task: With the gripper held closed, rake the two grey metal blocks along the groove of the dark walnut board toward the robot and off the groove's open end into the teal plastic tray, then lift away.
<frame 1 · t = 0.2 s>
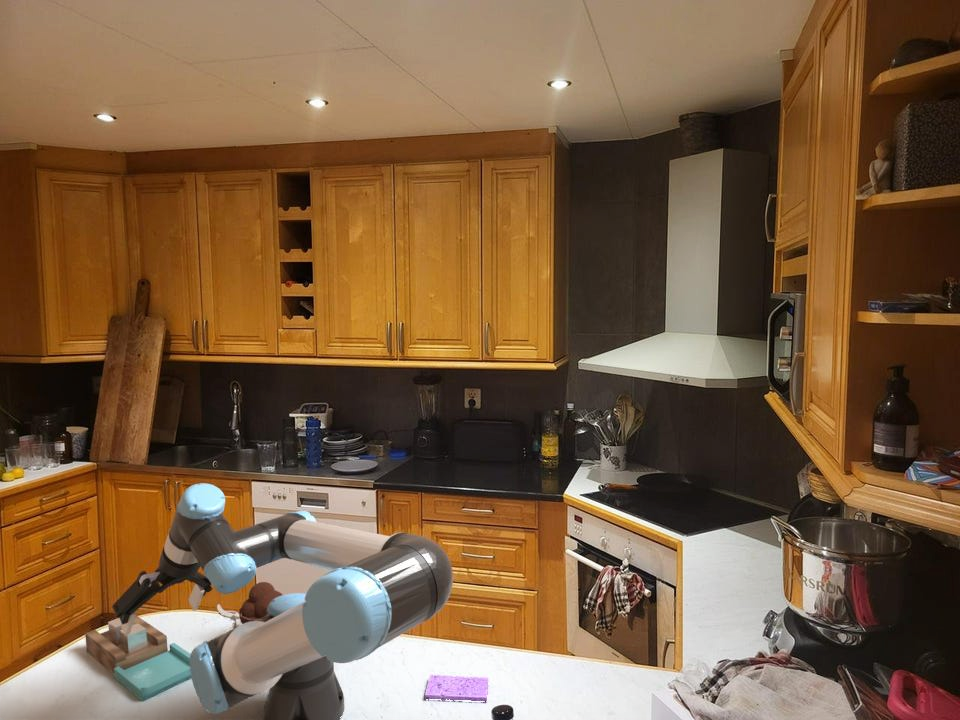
hand: (159, 616, 137), 16 cm above the countertop, tool tilted 35°, fingers open, 13 cm apart
near block: (134, 646, 150), point 3 cm above the countertop, touching groove board
pliers: (240, 616, 171), on the countertop
tray: (159, 674, 144), on the countertop
groove board: (127, 653, 153), on the countertop
sponges: (457, 694, 138), on the countertop
ice cream bowl: (265, 648, 155), on the countertop
far block: (122, 637, 154), point 3 cm above the countertop, touching groove board
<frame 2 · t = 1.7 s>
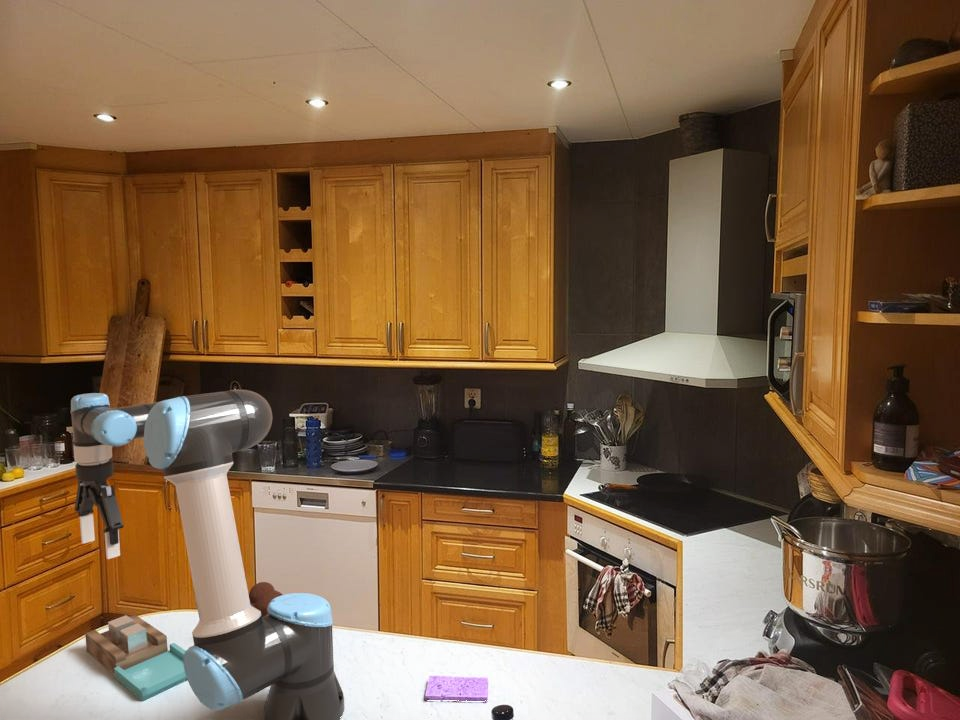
hand: (100, 549, 157), 22 cm above the countertop, tool pointing down, fingers open, 13 cm apart
nothing on the countertop moved.
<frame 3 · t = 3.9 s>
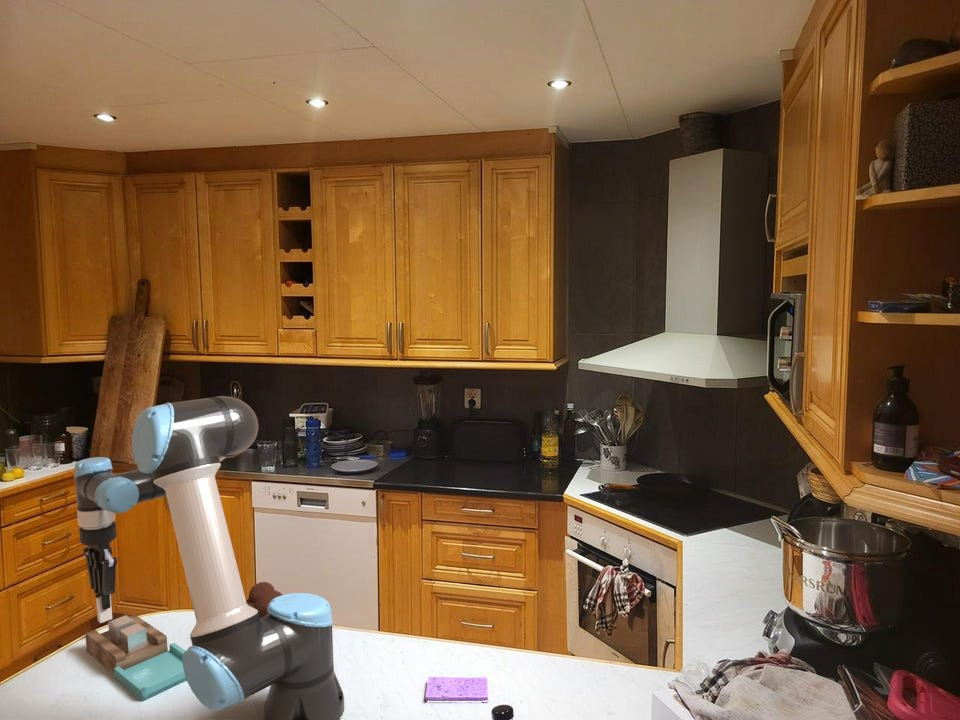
hand: (105, 619, 160), 4 cm above the countertop, tool pointing down, fingers closed
nothing on the countertop moved.
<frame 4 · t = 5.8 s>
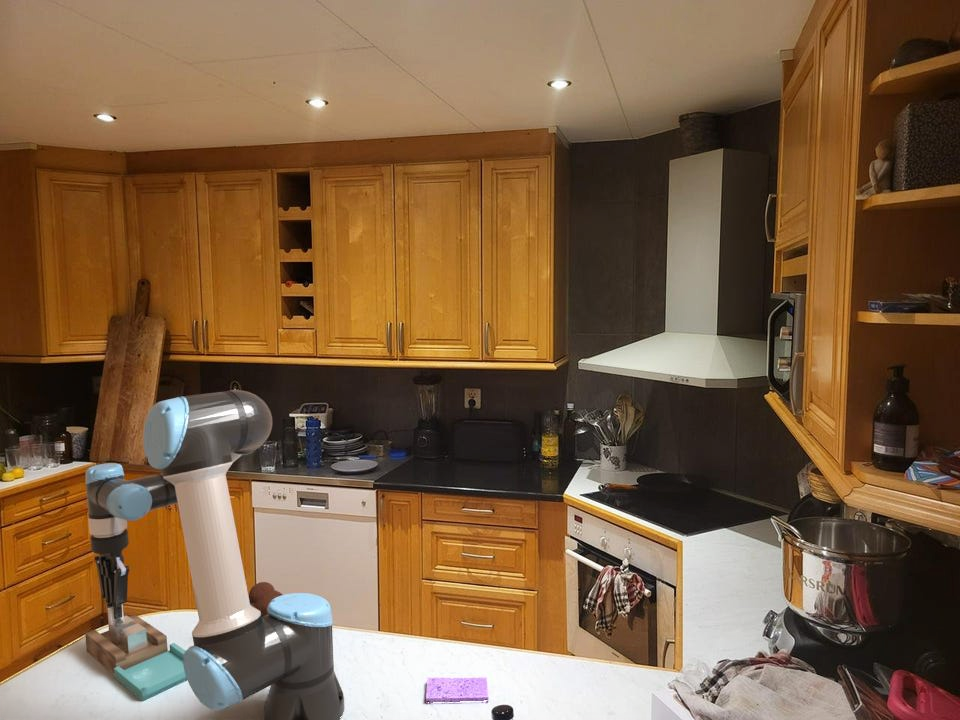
hand: (116, 630, 156), 4 cm above the countertop, tool pointing down, fingers closed
far block: (122, 637, 154), point 3 cm above the countertop, touching gripper, groove board
everything else where it was.
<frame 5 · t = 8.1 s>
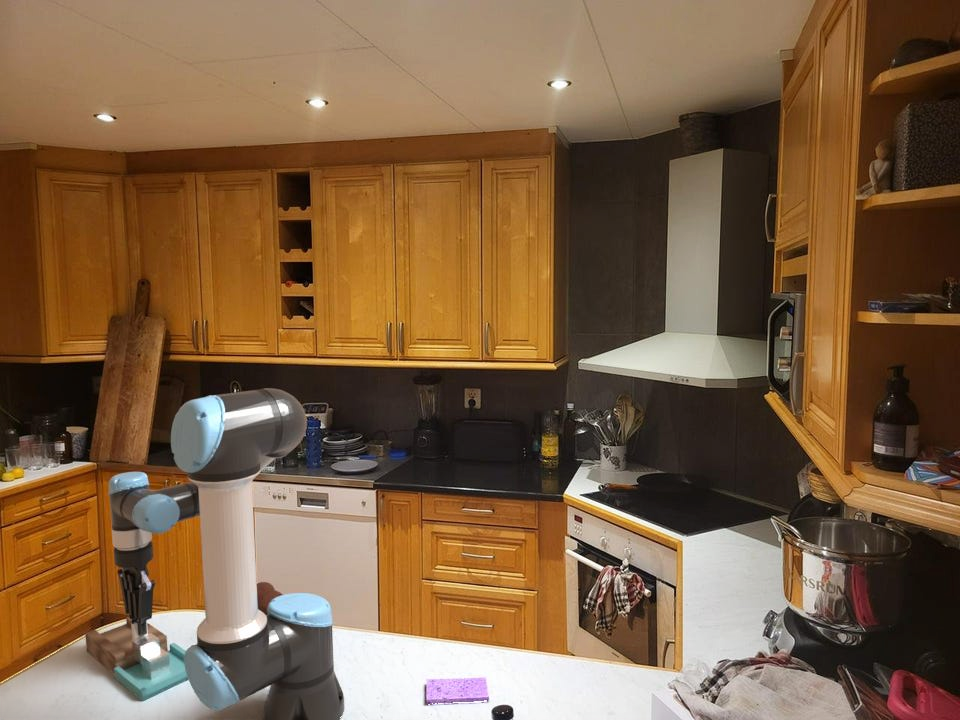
hand: (140, 647, 148), 4 cm above the countertop, tool pointing down, fingers closed
near block: (151, 660, 145), point 3 cm above the countertop, tilted 90°, touching far block
far block: (146, 656, 146), point 3 cm above the countertop, touching gripper, near block
everything else where it was.
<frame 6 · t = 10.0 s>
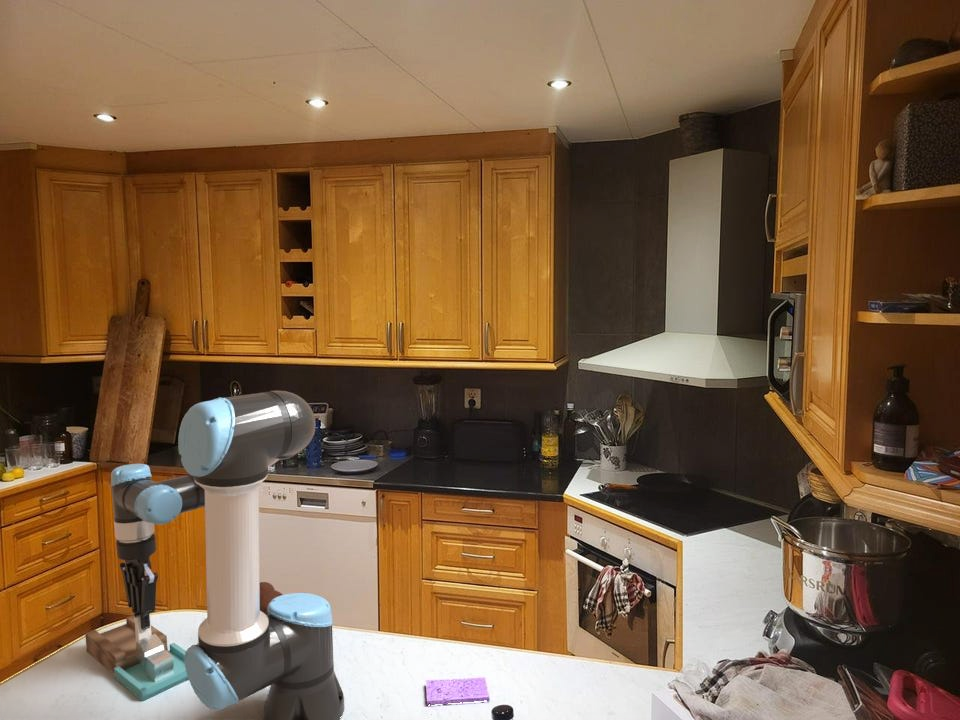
hand: (144, 641, 147), 6 cm above the countertop, tool pointing down, fingers closed
near block: (155, 661, 144), point 3 cm above the countertop, tilted 95°, touching far block, tray
far block: (149, 657, 146), point 3 cm above the countertop, tilted 18°, touching near block
everything else where it was.
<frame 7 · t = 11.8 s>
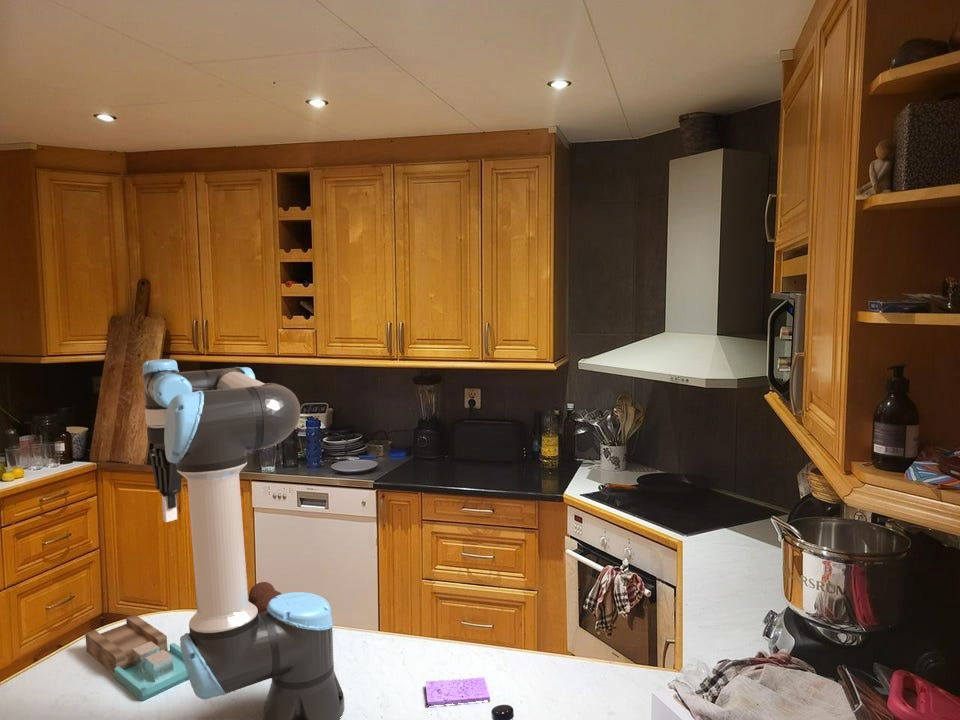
hand: (170, 519, 163), 27 cm above the countertop, tool pointing down, fingers closed
near block: (154, 662, 144), point 3 cm above the countertop, tilted 90°, touching tray
far block: (147, 665, 147), point 1 cm above the countertop, touching tray
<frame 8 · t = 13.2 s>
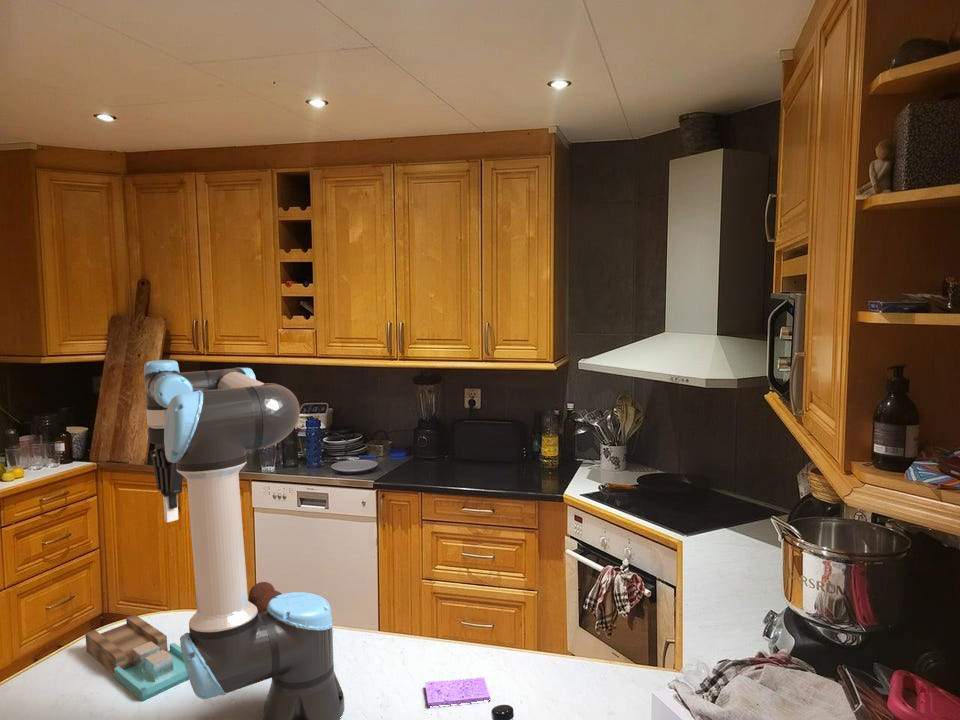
hand: (171, 520, 163), 26 cm above the countertop, tool pointing down, fingers closed
at the end: near block inside the target area on the tray (0.8 cm from its centre), point 2.8 cm above the tray's base; far block inside the target area on the tray (4.4 cm from its centre), point 0.8 cm above the tray's base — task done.
